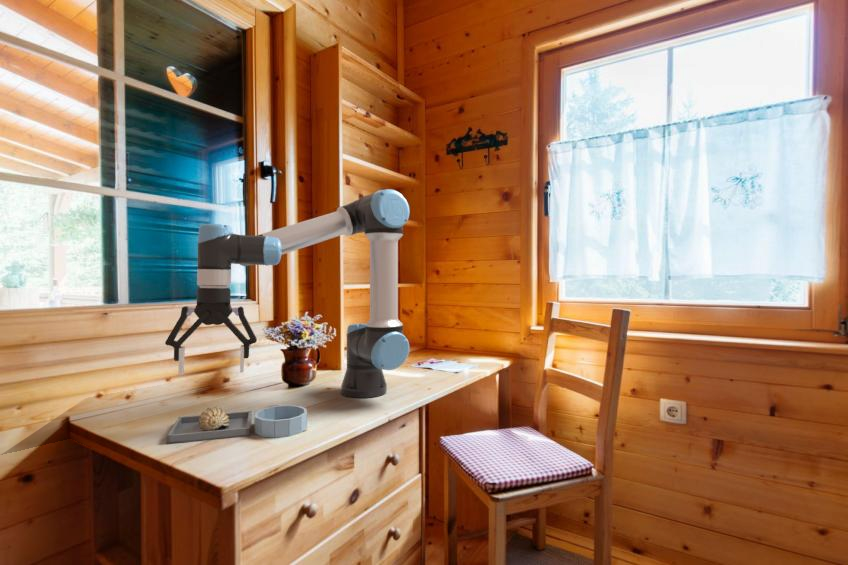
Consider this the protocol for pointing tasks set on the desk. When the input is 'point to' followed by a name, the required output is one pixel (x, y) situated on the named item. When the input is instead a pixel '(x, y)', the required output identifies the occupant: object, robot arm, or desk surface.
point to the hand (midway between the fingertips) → (212, 372)
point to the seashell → (213, 419)
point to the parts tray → (190, 431)
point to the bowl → (280, 421)
